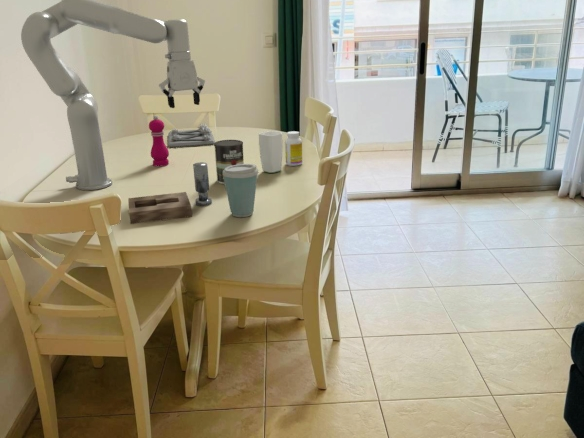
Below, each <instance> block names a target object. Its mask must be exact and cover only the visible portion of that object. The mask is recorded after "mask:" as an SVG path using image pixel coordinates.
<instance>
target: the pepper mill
mask: <svg viewBox="0 0 584 438" xmlns="http://www.w3.org/2000/svg"><path fill="white" fill-rule="evenodd" d="M158 118H159V117H158V115H154V116H153V119H152V120H150V121H149V123H148V129H149V131H151V132H150V136H151V137H152V145H151V150H150V157H151V158H152V159H153V160H152V165H153V166H154V167H164V166H168V165H169V163H170V162H169V159H168V157H169V155H170V153H169V149H168V146H167V145H166V143H165V141H164V136H165V134H164V132H165V131H164V129H165V124H164V121H163V120H161V119H158Z"/></svg>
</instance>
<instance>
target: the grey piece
mask: <svg viewBox="0 0 584 438" xmlns="http://www.w3.org/2000/svg"><path fill="white" fill-rule="evenodd" d="M167 136H168V139H167V148H169V149H172V148H173V149H175V148H176V147H177V148H187V147H188V148H189V147H202V146H214V143H215V142H216V141H215V138H214V136H213V133H212V130H211V128H209V127H208V125H206V124H205V123H203V124H200V125H199V126H198V127H197V129H187V130H184V129H183V130H179V129H177V128H175V127H173V128H172V130H171V131H169V132H168V135H167Z"/></svg>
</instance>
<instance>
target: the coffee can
mask: <svg viewBox="0 0 584 438" xmlns="http://www.w3.org/2000/svg"><path fill="white" fill-rule="evenodd" d="M213 146H214V154H215V155H214V157H215V169H216V182H217V183H218V184H221V185H225V182H224V177H223V175H222V174H223V171H224V169H225V168H226V167H229V166H233V165H239V164H245V163H244V142H243V141H242V140H239V139H223V140H218V141H215V143H214V145H213Z"/></svg>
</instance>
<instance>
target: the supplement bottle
mask: <svg viewBox="0 0 584 438" xmlns="http://www.w3.org/2000/svg"><path fill="white" fill-rule="evenodd" d="M286 135H287V138H286V139H285V142H284V145H285V149H284V150H285V164H286V165H287V166H290V167H297V166H301V165H302V164H303V141H302V139H301V138H300V131H295V130H293V131H292V130H291V131H287V133H286Z"/></svg>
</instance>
